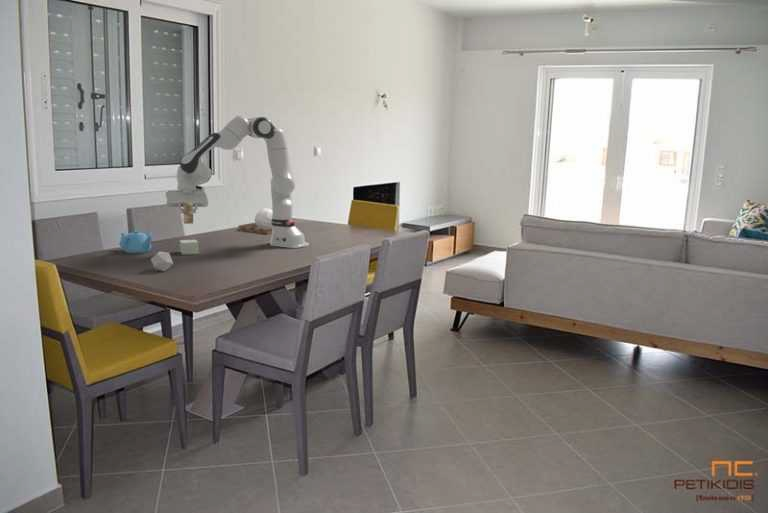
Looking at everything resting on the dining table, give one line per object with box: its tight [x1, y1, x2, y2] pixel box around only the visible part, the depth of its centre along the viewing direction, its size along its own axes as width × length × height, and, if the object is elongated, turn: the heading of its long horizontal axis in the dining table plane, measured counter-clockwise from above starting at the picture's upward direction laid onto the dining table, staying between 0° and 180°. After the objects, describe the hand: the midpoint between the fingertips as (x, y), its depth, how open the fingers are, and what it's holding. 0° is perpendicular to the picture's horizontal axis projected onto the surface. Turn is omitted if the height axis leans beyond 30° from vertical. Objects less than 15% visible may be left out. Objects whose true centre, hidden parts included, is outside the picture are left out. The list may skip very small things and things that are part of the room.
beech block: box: [182, 203, 194, 225], centre depth 326 cm, size 4×4×10 cm
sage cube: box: [179, 239, 200, 255], centre depth 330 cm, size 8×8×6 cm
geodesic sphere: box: [254, 207, 272, 229], centre depth 406 cm, size 15×14×14 cm
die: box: [150, 251, 174, 272], centre depth 290 cm, size 8×9×10 cm
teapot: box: [119, 229, 153, 255], centre depth 328 cm, size 15×15×11 cm
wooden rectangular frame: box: [237, 222, 272, 235], centre depth 406 cm, size 24×24×3 cm
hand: (188, 212), depth 326 cm, fingers closed on beech block, 4 cm apart
